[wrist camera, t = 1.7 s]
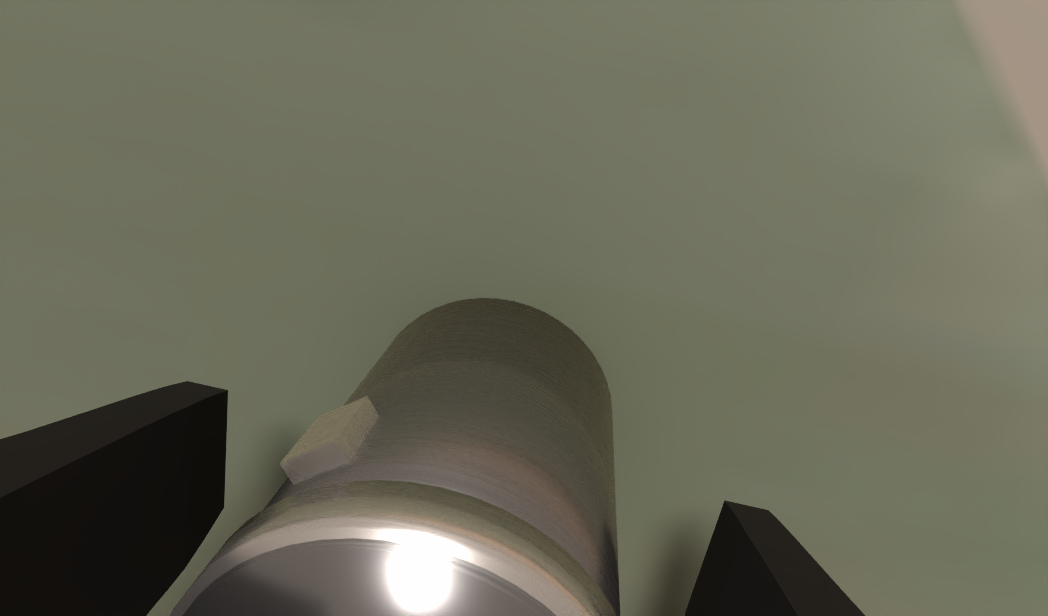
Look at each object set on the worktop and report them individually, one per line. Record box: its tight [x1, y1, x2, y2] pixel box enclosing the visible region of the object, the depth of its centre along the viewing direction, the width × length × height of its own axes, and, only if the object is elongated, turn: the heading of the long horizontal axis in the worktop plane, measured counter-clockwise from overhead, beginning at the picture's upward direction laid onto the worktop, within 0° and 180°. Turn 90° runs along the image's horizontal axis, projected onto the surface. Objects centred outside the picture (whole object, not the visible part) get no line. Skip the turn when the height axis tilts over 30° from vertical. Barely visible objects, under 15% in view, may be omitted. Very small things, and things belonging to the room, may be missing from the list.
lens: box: [170, 298, 620, 616], centre depth 9 cm, size 5×5×6 cm
